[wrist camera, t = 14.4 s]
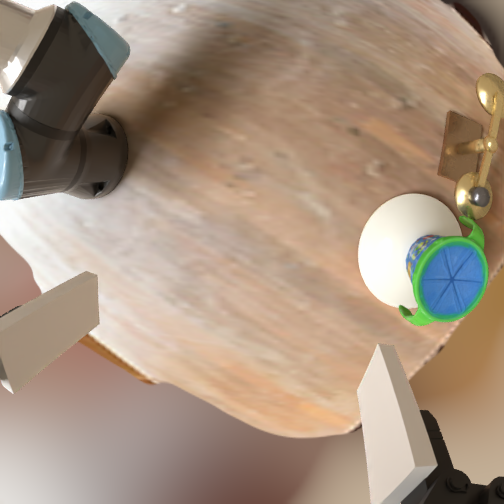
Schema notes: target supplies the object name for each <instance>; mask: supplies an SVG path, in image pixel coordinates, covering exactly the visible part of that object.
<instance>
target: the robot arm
mask: <svg viewBox="0 0 504 504" xmlns="http://www.w3.org/2000/svg"><path fill="white" fill-rule="evenodd" d="M129 55H130V46H129V44H128V43H127V42H126V41H125V40H124V39H123V38H122V37H121V36H120V35H119V34H118V33H117V32H116V31H115V30H113V29H112V28H111V27H110V26H109V25H107V24H106V23H105V22H104V21H102V20H101V19H100V18H99V17H97V16H96V15H94V14H93V13H92V12H90V11H89V10H88V9H87V8H85V7H84V6H82V5H81V4H79V3H78V2H71V3H70V4H69V5H67V6H66V7H65V9H62V8H60V7H58V6H56V5H54V4H53V5H50V6H47V7H44V8H42V9H39V10H33V9H31V8H28V7H26V6H24V5H21V4H19V3H16V2H14V1H11V0H0V86H1V89H2V92H3V93H5V94H8V95H11V96H12V97H11V99H10V102H9V104H8V106H7V108H6V110H5V111H4V110H0V200H18V199H23V198H29V197H35V196H41V195H47V194H53V193H60V192H64V193H66V194H69V195H72V196H75V197H78V198H81V199H94V198H100V197H103V196H105V195H107V194H108V193H109V192H111V191H112V190H113V189H114V188H115V187H116V185H117V184H118V183H119V181H120V179H121V177H122V175H123V173H124V170H125V167H126V162H127V155H128V147H127V140H126V136H125V133H124V131H123V129H122V127H121V125H120V124H119V123H118V122H117V121H116V120H115V119H113V118H112V117H110V116H107V115H102V114H90V113H91V112H92V110H93V109H94V107H95V106H96V104H97V103H98V101H99V100H100V98H101V97H102V95H103V94H104V92H105V91H106V89H107V88H108V86H109V85H110V84H111V82H112V81H113V79H114V80H115V79H116V77H117V73H118V72H119V70H120V69H121V67H122V66H123V65H124V63H125V62H126V60H127V59H128V57H129ZM99 324H100V322H99V306H98V277H97V275H96V274H93V273H90V272H87V271H85V272H83V273H81V274H79V275H78V276H76V277H74V278H72V279H70V280H68V281H66V282H64V283H62V284H60V285H59V286H57V287H55V288H53V289H51V290H49V291H47V292H46V293H44V294H42V295H40V296H38V297H37V298H35V299H33V300H31V301H29V302H27V303H26V304H24V305H21V306H17V307H15V308H14V309H12V310H10V311H9V312H8V313H5V314H3V315H2V317H1V316H0V380H1V383H2V385H3V386H4V387H5V388H7V390H9V391H10V392H11V393H13V394H15V393H16V392H17V391H18V390H20V389H21V388H22V387H23V386H24V385H26V384H27V383H28V382H29V381H30V380H31V379H33V378H34V377H35V376H36V375H37V374H39V373H40V372H41V371H42V370H43V369H44V368H46V367H47V366H48V365H49V364H50V363H52V362H53V361H54V360H55V359H56V358H58V357H59V356H60V355H61V354H63V353H64V352H65V351H66V350H67V349H69V348H70V347H71V346H72V345H74V344H75V343H76V342H77V341H79V340H80V339H81V338H82V337H84V336H85V335H86V334H87V333H89V332H90V331H91V330H92V329H94V328H95V327H96V326H97V325H99ZM357 395H358V401H359V408H360V414H361V421H362V428H363V435H364V443H365V451H366V459H367V468H368V478H369V488H370V500H371V504H400V503H401V504H504V477H497V478H495V479H494V480H493V481H492V482H491V483H490V484H489V485H487V486H486V485H479V484H472V483H471V481H470V479H469V478H468V476H467V475H466V474H465V473H463V472H462V471H459V470H457V469H454V468H453V465H452V462H451V459H450V456H449V453H448V450H447V447H446V445H445V442H444V440H443V437H442V434H441V432H440V429H439V426H438V423H437V421H436V419H435V418H434V417H433V415H432V414H431V413H430V412H429V411H428V410H419V408H418V405H417V402H416V400H415V397H414V395H413V392H412V389H411V387H410V384H409V382H408V379H407V376H406V374H405V371H404V369H403V367H402V364H401V362H400V359H399V357H398V355H397V352H396V350H395V347H394V345H387V344H381V343H378V345H377V347H376V349H375V352H374V354H373V356H372V359H371V361H370V363H369V366H368V368H367V370H366V372H365V375H364V377H363V379H362V381H361V383H360V385H359V388H358V390H357Z"/></svg>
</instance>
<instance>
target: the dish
mask: <svg viewBox="0 0 504 504" xmlns="http://www.w3.org/2000/svg"><path fill="white" fill-rule="evenodd" d="M426 235H440V236H462V233H461V229H460V226H459V224H458V222H457V220H456V218H455V216H454V215H453V213H452V212H451V211H450V210H449V208H448V207H447V206H445V205H444V204H443V203H442V202H440V201H439V200H437V199H435V198H433V197H430V196H427V195H423V194H415V193H414V194H404V195H400V196H397V197H394V198H392V199H390V200H388V201H386V202H385V203H384V204H382V205H381V206H380V207H379V208H378V209H377V210H375V212H374V213H373V214H372V215H371V216H370V218H369V219H368V221H367V223H366V224H365V226H364V229H363V231H362V234H361V237H360V241H359V246H358V263H359V268H360V272H361V275H362V277H363V279H364V282H365V284H366V285H367V287H368V288H369V290H370V291H371V292H372V293H373V295H375V296H376V297H377V298H378V299H379V300H381V301H382V302H384V303H386V304H388V305H390V306H393V307H397V308H399V305H403V306H404V307H406V308H407V309H410V308H417V307H418V304H417V302H416V300H415V297H414V294H413V286H412V283H411V281H410V278H409V276H408V273H407V270H406V261H405V260H406V257H407V254H408V251H409V249H410V247H411V245H412V244H413V243H414V242H415V241H416V240H417V239H418V238H420V237H422V236H426Z"/></svg>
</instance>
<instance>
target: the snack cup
mask: <svg viewBox="0 0 504 504" xmlns="http://www.w3.org/2000/svg"><path fill="white" fill-rule="evenodd" d="M459 220H460V222H461V223H462V224H463V225H465V226H466V227H468V228H470V229H473V230H472V232H471V234H470V235H469V236H467V237H462V236H440V235H426V236H422V237H420V238H418V239H417V240H416V241H415V242H414V243H413V244H412V245H411V247H410V249H409V251H408V254H407V257H406V260H405V261H406V270H407V273H408V276H409V278H410V281H411V283H412V286H413V294H414V297H415V300H416V302H417V304H418V310H417V312H416V314H415V315H412V313H411V312H410V311H409V310H408V309H407V308H406V307H404V306H403V305H399V311H400V313H401V315H402V316H403V317H404V318H405V319H406V320H408V321H409V322H411V323H412V324H414V325H417V326H424V325H427V324H429V323H431V322H434V321H439V322H452V321H456V320H458V319H460V318H462V317H464V316H466V315H467V314H469V313H470V312H471V311H472V310H473V309H474V308H475V307H476V306H477V304H478V303H479V301H480V300H481V298H482V296H483V295H484V292H485V290H486V286H487V282H488V273H489V271H488V263H487V259H486V257H485V254H484V234H483V231H482V229H481V228H480V227H479V226H478V225H477V224H476V223H475V222H474V221H473V220H472V219H469V218H466V217H465V216H460V217H459Z"/></svg>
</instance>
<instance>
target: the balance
mask: <svg viewBox="0 0 504 504" xmlns="http://www.w3.org/2000/svg"><path fill="white" fill-rule="evenodd" d="M476 93H477V97H478V99H479V102H480V104H481V105H482V107H483V108H484V109H485V111H486V112H487V113H488V114H490V115H491V116H492V117H491V122H490V127H489V132H488V136H486V137H485V138H482V139H481V131H482V125H480V124H478V123H476V122H474V121H472V120H470V119H468V118H465V117H463V116H461V115H459V114H457V113H454V112H452V111H449V112H447V118H446V126H445V133H444V140H443V147H442V153H441V159H440V164H439V170H438V175H440V176H442V177H445V178H447V179H450V180H453V181H455V182H457V184H456V187H455V193H454V196H455V203H456V206H457V208H458V210H459V211H460V213H461V214H462V215H463V216H465V217H466V218H469V219H472V220H478V219H481V218H483V217H484V216H485V215H486V214H487V213H488V212H489V210H490V208H491V204H492V189H491V186H490V184H489V182H488V180H487V179H486V178H487V175H488V171H489V167H490V164H491V160H492V156H493V153H495V152H496V151H497V149H498V142H497V140H496V138H497V133H498V128H499V123H500V119H502V118H504V81H503V80H502V79H501V78H499V77H498V76H496V75H494V74H491V73H486V74H483V75H482V76H480V77H479V78H478V80H477V83H476ZM479 153H484V155H483V159H482V163H481V166H480V170H479V173H477V172H476V168H477V162H478V155H479Z"/></svg>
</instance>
